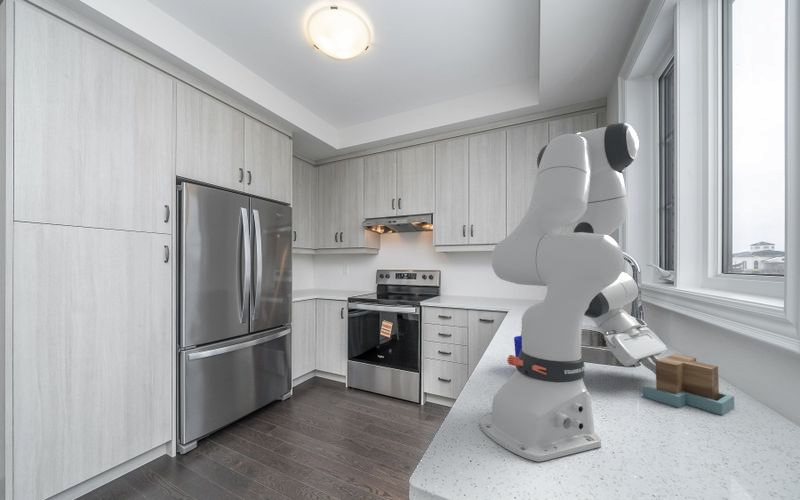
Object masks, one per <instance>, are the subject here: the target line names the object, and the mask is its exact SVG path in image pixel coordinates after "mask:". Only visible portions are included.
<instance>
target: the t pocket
mask: <svg viewBox="0 0 800 500" xmlns="http://www.w3.org/2000/svg"><path fill="white" fill-rule="evenodd" d="M642 396H643V397H644V398H648V399H649V400H654V401H657V402H660V403H663V404H665V405H669V406H672V407H675V408H678V409H680V408H682V407H684V406H685V405H687V406H692V407H695V408H698V409H699V410H700V409H701V410H703V411H707V412H710V413H714V414H717V415H719V416H724V415H725V414H727V413H728V412H730V411H731V410H733V409H734V408H735V396H734V395H731V394H727V393H723V392H720V391H719V400H718V401H716V400H712V399H709V398H705V397H702V396H698V395H695V394H691V393H688V392H684V391H681V392H679V393H677V394H672V393H669V392H665V391H662V390H659V389H656V388H654V387H651V386H649V385H642Z"/></svg>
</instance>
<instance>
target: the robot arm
mask: <svg viewBox="0 0 800 500" xmlns="http://www.w3.org/2000/svg"><path fill="white" fill-rule="evenodd" d="M638 150H639V138H638V136H637V133H636V131H635V129H634V127H632V125H630V124H628V123H626V122H617V123H611V124H608V125H607V126H603V127H598V128H593V129H590V130H586V131H583V132H577V133H566V134H561V135H558V136H556V137H554V138H553V139H552V140H550V141H549V143H547V144H546V145H544V146H543V147H542V148H541V150H540V151H539V152H538V154H537V157H536V165H537V173H536V175H535V176H536V177H535V182H534V187H533V191H532V196H531V200H530V203H529V207H528V209H527V211H526V213H525V215H524V217H523V218H522V219H521V221H520V222H519V224H518V225H517V226H516V228H514V230H513V231H512V232H511V233H510V234H509V235H508V236H506V237H505V238H503V239H501V241H499V242H498V243H497V244H496V245H495V247H493V250H492V253H491V260H490V261H491V268H492V270H493V273H494V274H495V276H496V277H498V278H499V279H500V280H502V281H505V282H510V283H512V284H516V285H521V286H523V285H525V286H539V287H546V295H545V297H544V299H543V301H540V302H539V303H536V304H534V305H532V306H531V305H530V307H528V308H527V309H526V310H525V311H524V313H523V315H522V316H521V336H522V349H521V350H520V353H519V356H518V357H516V356H515V355H512V354H509V355H508V357H507V360H506V361H507V363H508V365H509V366H514V367H515V371H514V373H513V374H511V376H510V377H509V378H508V379H507V380H506V382H505V383H504V384H503V385H502V386H501V387H500V389H499V390H498V391H497V392H496V393H495V395H494V397H493V400H492V405H491V406H492V407H491V412H490V413H489V414H487V415H485V416H483V417H481V418H480V420H479V426H480V429H481V430H482V432H483V433H484V434H486V435H487V437H489V438H490V439H491V440H492V441H494V442H495V443H496V444H498V445H499V446H501V447H503V448H504V449H506V450H508V451H510V452H511V453H514V454H516V455H518V456H520V457H522V458H523V459H527V460H530V461H535V462H544V461H548V460H552V459H556V458H560V457H564V456H569V455H573V454H576V453H581V452H585V451H589V450H592V449H597V448H600V447H602V440H601V438H600V436H599V435H598V434H597V433H596V432H595V426H594V424H595V423H594V414H593V406H592V397H591V394H590V393H589V391H588V389H587V387H586V385H585V383H584V381H583V378H584V377H585V369H586V366H585V361H584V357H583V356H582V332H583V331H582V330H583V322H584V317H588V319H590V320H592V321H593V322H594V324H595V326H596V327H597V329H598V330H599V331H600V332H601V334H602V335H603V339H604V340H605V341H606V342H605V344H606V346H607V347H608V349H609V350H610V352H611V354H613V356H614V357H615V358H616V359H617V361H618V362H619V363H620V364H621V365H623V366H624V367H629V366H633V365H634V364H637V363H641V364H642V365H643V366H644V367H645V368H646V369H647V370H649V371H651V372H652V373H654V375H655V376H656V360H659V359H660V358H659V356H661V355H664V353H666V352H668V348H667V346H666V344H665V343H664V342H663V340H661V339H660V338H659V336H658V335H657V334H655V332H654V331H652V330H651V329H650V328H649V327H647V326H648V324H647V323H646V322H645V321H644V319H640V318H637V317H634V316H632V315H630V314H628V313H627V311H625V310H624V306H625V305H628V304H630V303H632V302H634V301H635V300H636V299H637V298H638V297H639V294H640V287H639V284H638V282H637V281H636V279H635V278H634V277H633V276H632V275H631V274H629V273H628V272H626V271H623V269H624V264H625V259H624V252H623V251H622V248H621V246H620V245H619V244H618V242H617V241H616V240H615V239H614V238H613V237H611V236H610V235H612V233H614V232H615V231H617V229H619V228H620V227H621V226H622V225H623V224H624V222H625V221H626V220H627V216H628V211H629V203H628V195H627V188H626V183H625V179H624V176H623V173H624V172H625V170H626V168H627V167H629V166H630V165H631V164H632V163H633V162H634V160H635V159H636V157H637V155H638ZM575 223H576V226H574V227H575V228H574V229H573V232H565V233H562V232H563V231H564V230H565V229H567V228H568V227H570V226H572V225H573V224H575Z"/></svg>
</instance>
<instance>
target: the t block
mask: <svg viewBox="0 0 800 500" xmlns="http://www.w3.org/2000/svg"><path fill="white" fill-rule="evenodd" d="M655 385H656V386H655V387H656V388H655V389H659V390H662V391H665V392H669V393H672V394H677V393H679V392H681V391H684V392H688V393H691V394H695V395H698V396H702V397H705V398H709V399H712V400H716V401H718V400H719V392H720V388H719V387H720V386H719V366H718V365H714V364H710V363H705V362H699V361H697V357H693V356H688V355H684V354H679V353H674V354H671V355H669V356H666V357H662V358H659V360H656V375H655Z"/></svg>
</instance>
